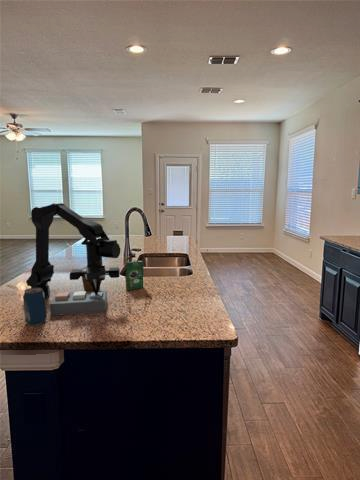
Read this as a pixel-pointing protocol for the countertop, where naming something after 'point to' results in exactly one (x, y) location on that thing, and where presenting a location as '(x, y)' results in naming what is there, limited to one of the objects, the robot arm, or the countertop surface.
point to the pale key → (79, 295)
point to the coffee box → (134, 275)
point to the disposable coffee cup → (87, 283)
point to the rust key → (62, 296)
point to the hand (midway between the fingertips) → (96, 294)
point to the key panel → (79, 304)
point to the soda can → (34, 306)
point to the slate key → (97, 295)
